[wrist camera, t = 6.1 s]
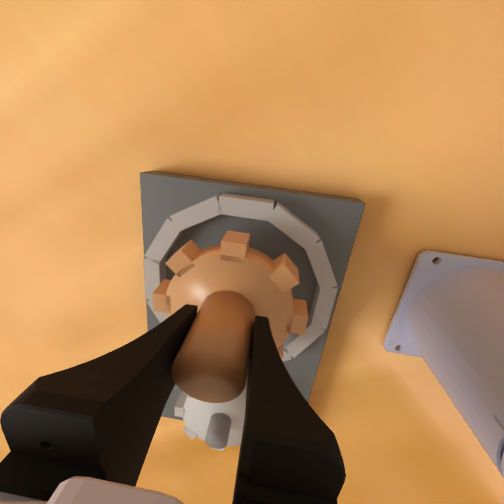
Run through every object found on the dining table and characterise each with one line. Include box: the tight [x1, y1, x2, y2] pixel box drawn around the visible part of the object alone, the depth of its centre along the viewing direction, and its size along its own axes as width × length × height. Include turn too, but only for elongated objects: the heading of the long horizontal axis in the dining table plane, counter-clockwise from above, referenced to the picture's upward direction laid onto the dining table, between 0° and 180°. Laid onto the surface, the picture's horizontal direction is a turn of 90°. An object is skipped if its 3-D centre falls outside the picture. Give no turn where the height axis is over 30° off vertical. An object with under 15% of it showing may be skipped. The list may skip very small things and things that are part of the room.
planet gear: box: [152, 230, 308, 403], centre depth 13 cm, size 8×8×6 cm
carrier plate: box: [140, 171, 365, 451], centre depth 18 cm, size 13×21×5 cm, turn 173°
